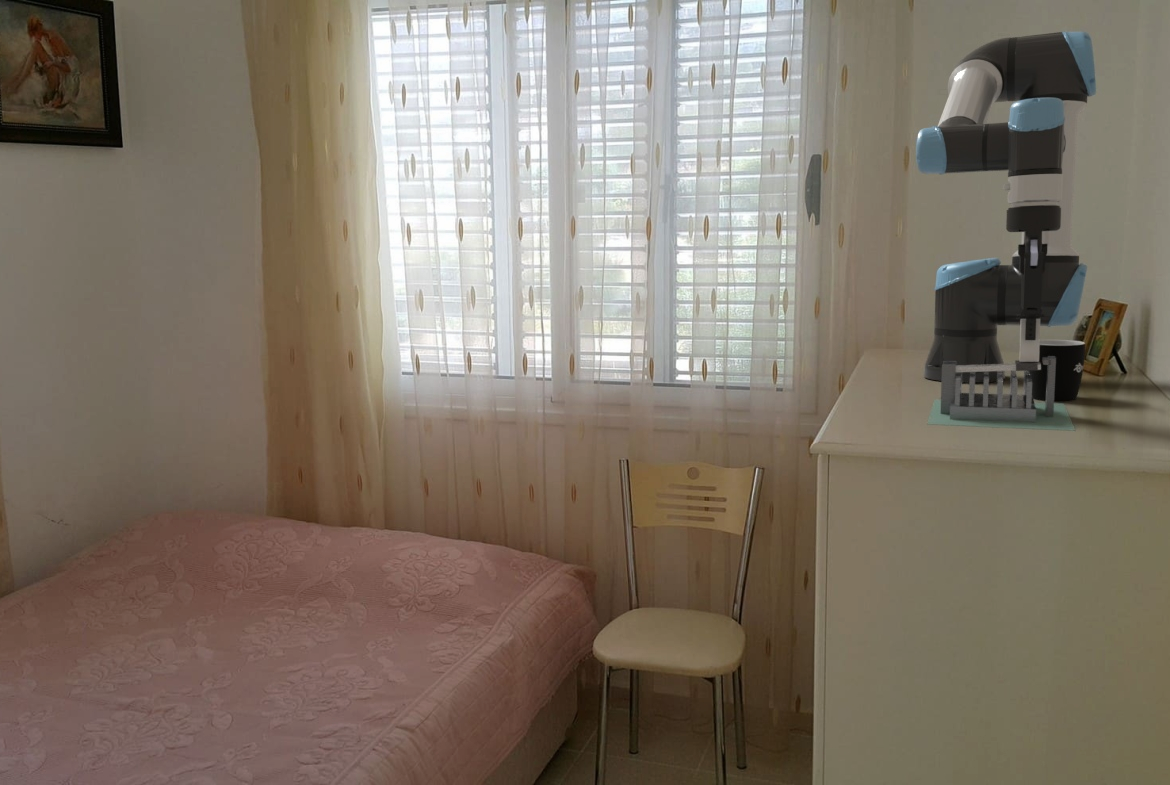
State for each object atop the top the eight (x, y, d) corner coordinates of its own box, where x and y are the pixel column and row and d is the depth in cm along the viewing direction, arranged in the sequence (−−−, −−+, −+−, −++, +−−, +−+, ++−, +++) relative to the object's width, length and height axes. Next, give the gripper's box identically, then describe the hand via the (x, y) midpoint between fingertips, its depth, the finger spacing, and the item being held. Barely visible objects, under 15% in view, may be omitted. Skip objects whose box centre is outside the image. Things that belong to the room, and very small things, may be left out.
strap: (945, 370, 163) (945, 362, 163) (1039, 367, 158) (1039, 359, 158) (944, 375, 158) (944, 366, 158) (1041, 372, 153) (1041, 363, 153)
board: (934, 402, 174) (934, 399, 173) (1063, 407, 166) (1063, 403, 166) (926, 428, 151) (927, 424, 151) (1075, 434, 144) (1075, 430, 144)
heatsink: (942, 404, 168) (944, 350, 167) (1050, 408, 162) (1052, 352, 161) (939, 418, 155) (940, 360, 154) (1055, 423, 150) (1058, 362, 148)
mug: (1079, 407, 166) (1082, 345, 164) (1020, 404, 170) (1022, 343, 169) (1087, 397, 176) (1090, 338, 174) (1031, 394, 180) (1034, 337, 179)
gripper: (1005, 207, 160) (1002, 356, 163) (1007, 204, 148) (1003, 365, 151) (1058, 205, 157) (1053, 357, 160) (1064, 202, 145) (1059, 366, 148)
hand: (1029, 361), depth 156 cm, fingers closed
